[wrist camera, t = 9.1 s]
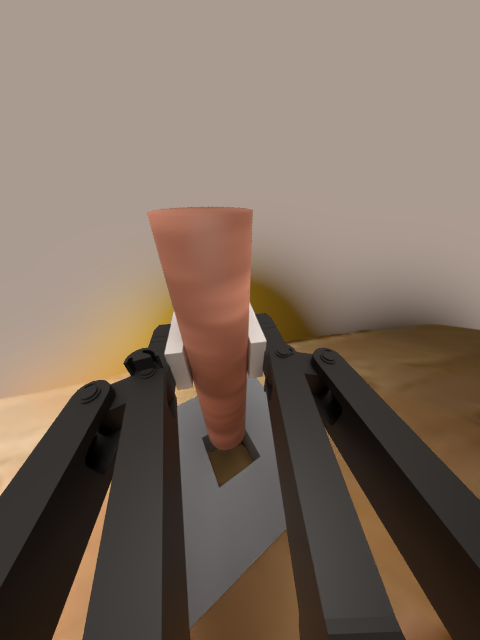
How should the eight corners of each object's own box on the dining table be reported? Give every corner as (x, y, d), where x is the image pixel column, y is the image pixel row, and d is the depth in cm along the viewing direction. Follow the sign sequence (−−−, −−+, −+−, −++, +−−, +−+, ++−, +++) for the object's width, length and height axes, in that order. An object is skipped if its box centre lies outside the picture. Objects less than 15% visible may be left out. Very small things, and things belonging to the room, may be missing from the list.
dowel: (234, 403, 17) (225, 205, 7) (252, 435, 15) (273, 211, 5) (202, 421, 15) (141, 209, 6) (217, 459, 13) (157, 219, 4)
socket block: (249, 388, 28) (250, 369, 26) (319, 491, 19) (333, 479, 16) (160, 438, 23) (148, 420, 20) (193, 619, 13) (179, 639, 10)
